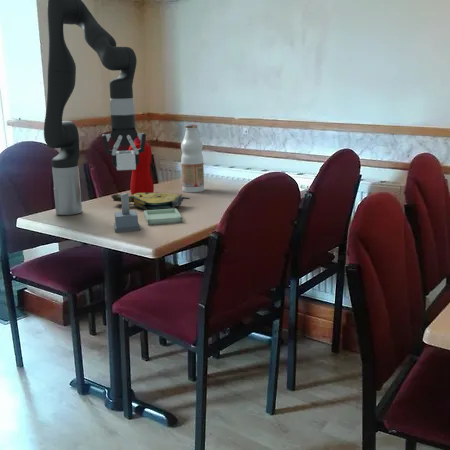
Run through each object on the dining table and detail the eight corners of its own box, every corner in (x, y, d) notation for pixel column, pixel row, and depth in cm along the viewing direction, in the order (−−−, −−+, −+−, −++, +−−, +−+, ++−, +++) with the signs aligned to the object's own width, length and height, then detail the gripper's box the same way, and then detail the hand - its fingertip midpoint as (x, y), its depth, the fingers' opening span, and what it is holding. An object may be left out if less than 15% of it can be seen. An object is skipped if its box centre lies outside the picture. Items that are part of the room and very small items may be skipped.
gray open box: (117, 170, 180) (116, 154, 178) (116, 166, 187) (115, 151, 186) (135, 169, 181) (135, 153, 180) (134, 165, 189) (133, 150, 187)
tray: (148, 224, 192) (147, 219, 192) (144, 215, 205) (143, 210, 204) (182, 222, 195) (182, 217, 194) (176, 213, 207) (176, 208, 207)
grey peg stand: (115, 232, 184) (112, 197, 181) (113, 226, 191) (111, 192, 188) (140, 230, 185) (138, 195, 182) (138, 224, 193) (135, 190, 190)
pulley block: (122, 185, 228) (190, 189, 216) (124, 198, 230) (191, 204, 218) (102, 195, 215) (173, 201, 204) (104, 210, 217) (174, 216, 206)
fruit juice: (184, 193, 241) (181, 126, 233) (180, 189, 250) (178, 124, 242) (206, 192, 243) (204, 125, 235) (202, 187, 252) (200, 123, 244)
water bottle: (156, 196, 236) (152, 135, 230) (129, 196, 236) (125, 135, 230) (158, 191, 245) (156, 133, 238) (133, 192, 245) (129, 133, 239)
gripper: (99, 114, 175) (103, 169, 179) (146, 113, 178) (149, 167, 182) (99, 113, 182) (102, 165, 186) (144, 111, 185) (147, 163, 189)
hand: (125, 166), depth 184 cm, fingers closed on gray open box, 5 cm apart
